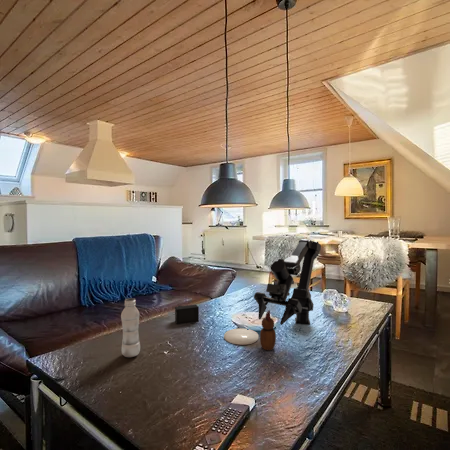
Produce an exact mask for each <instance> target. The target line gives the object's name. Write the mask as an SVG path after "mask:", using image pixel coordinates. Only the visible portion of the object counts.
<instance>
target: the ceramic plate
mask: <svg viewBox="0 0 450 450" xmlns="http://www.w3.org/2000/svg"><path fill="white" fill-rule="evenodd" d="M247 329H248V328H240V327H239V328H232V329H229V330H227V331H226V332H225V333H224V335H223V338H224V340H225V341H226V342H227V343H230V344H233V345H240V346H245V345H251V344H254V343H257V342H258V340H260V334H258V332H256V331H255V330H252V329H249V330H247Z"/></svg>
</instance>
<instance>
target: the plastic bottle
mask: <svg viewBox="0 0 450 450" xmlns="http://www.w3.org/2000/svg"><path fill="white" fill-rule="evenodd" d="M136 303H137V302H136V298H125V299H124V308H123V310H122V311H121V315H120V319H121V325H122V343H121V354H122V355H123V357H125V358H133V357H136V356H138V355H139V354H140V351H141V342H140V336H139V322H140V321H139V320H140V312H139V311H140V310H138V308H137V307H136V305H137V304H136Z"/></svg>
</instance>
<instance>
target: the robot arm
mask: <svg viewBox="0 0 450 450" xmlns="http://www.w3.org/2000/svg"><path fill="white" fill-rule="evenodd" d="M321 249H322V246H321V244H320V243H319V241H314V240H313V241H312V240H310V239H304V238H303V239H299V240H298V243H297V245H296V247H295V249H294V250H293V251H292V253H291V254H290V256H289V257H286V258H285V259H283V258H278V260H276V261H274V262H273V263H272V264H271V265H270V270H271V272H272V275H274V278H275V279H276V280H277V282H276V284H275V283H274V284H273V283H267V286H266V291H265V292H266V293H268V295H269V296H270V297H267V295H266V294H265V293H264V292H259V291H257V292H255V293H254V296H253V298H254V301H255V302H256V304H257V305H258V319H259V320H261V319H262V318H263V316H264V314H265V312H266V310H267V305H268V304H273V305H277V306H278V305H279V306H284V307H285V308H284V312H283V314H282V317H281V319H280V323H279V324H280V325H281V326H282V325H284V324H285V322H287V321H288V320H290V318H291V317H293V316H294V315H295V318H294V321H295V324H300V325H301V324H302V325H310V324H311V321H310V312H311V311H312V312H313V311H314V302H313V300H312V298H311V297H312V294H311V292H310V289H309V288H310V283H311V277H312V273H313V267H314V262H315V259H317V258H318V257H319V255H320V251H321ZM302 260H303V261H302ZM301 262H302V266H301ZM300 271H301V272H300ZM299 274H300V276H299V281H298V286H297V287H295V288H293V291H292V295H291V297H289V296H290V293H291V292H290V290H291V288H292V285H295V281H294V277H293V276H298V275H299Z"/></svg>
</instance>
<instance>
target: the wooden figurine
mask: <svg viewBox="0 0 450 450" xmlns="http://www.w3.org/2000/svg"><path fill="white" fill-rule="evenodd" d="M261 327H262V329H261V330H260V332H259V333H260V334H259V342H260V345H261V348H262V349H263V350H265V351H272V350H273V349H275V345H276V339H277V337H276V330H275V329H274V327H275V321H274V319H273V318H271V310H270V309H269V310H267V311H266V314H265V317H263V319H262V321H261Z"/></svg>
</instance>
